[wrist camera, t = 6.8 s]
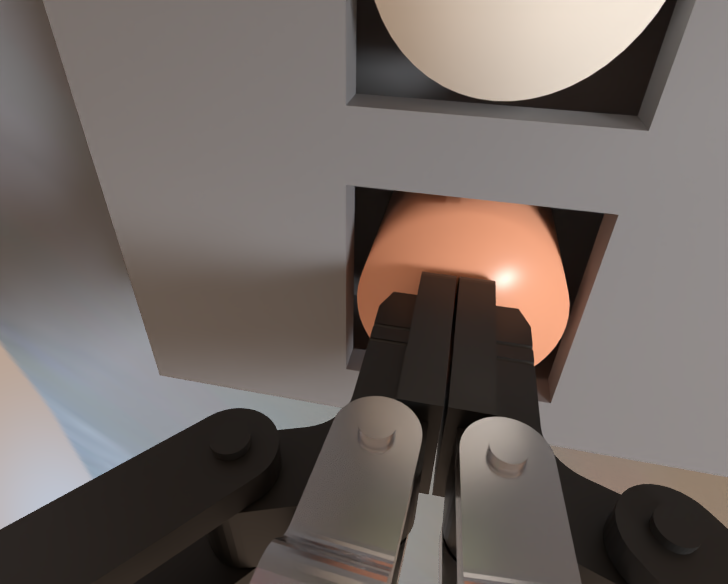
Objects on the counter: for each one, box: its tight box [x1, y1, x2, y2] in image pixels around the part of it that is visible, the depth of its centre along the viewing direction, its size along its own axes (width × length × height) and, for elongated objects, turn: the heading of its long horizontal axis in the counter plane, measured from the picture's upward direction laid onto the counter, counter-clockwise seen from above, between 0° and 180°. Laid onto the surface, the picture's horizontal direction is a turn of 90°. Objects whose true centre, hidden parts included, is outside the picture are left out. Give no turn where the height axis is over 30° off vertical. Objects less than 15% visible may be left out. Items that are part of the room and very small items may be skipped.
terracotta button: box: [357, 190, 570, 366], centre depth 12 cm, size 4×4×4 cm
